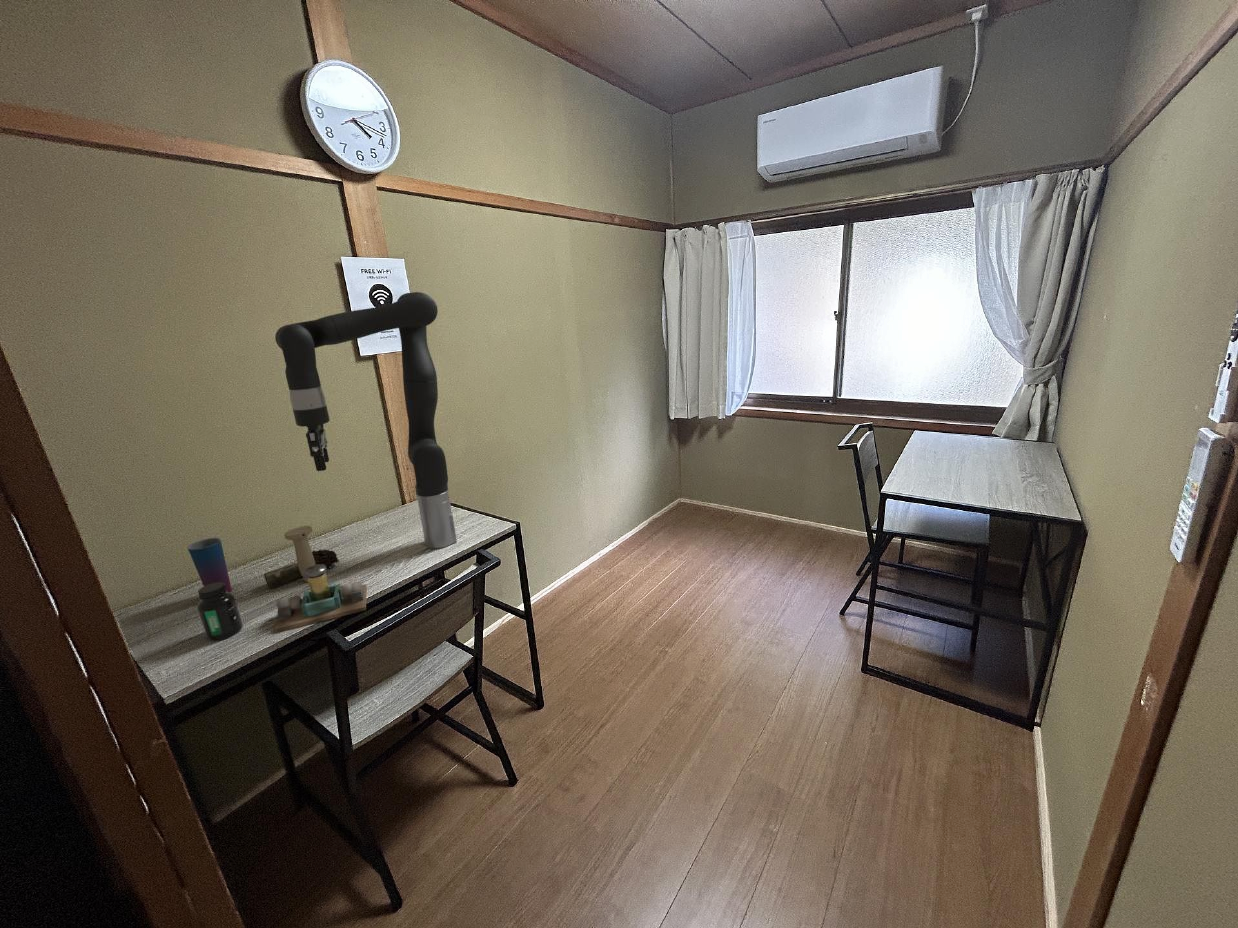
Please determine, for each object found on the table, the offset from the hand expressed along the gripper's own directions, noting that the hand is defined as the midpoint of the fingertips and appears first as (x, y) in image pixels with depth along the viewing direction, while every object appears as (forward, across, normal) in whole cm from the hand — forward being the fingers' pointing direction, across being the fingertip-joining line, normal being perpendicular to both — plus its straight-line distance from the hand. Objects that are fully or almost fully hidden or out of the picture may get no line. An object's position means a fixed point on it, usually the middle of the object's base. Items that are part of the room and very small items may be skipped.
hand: (323, 466), depth 133 cm
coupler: (+31, -17, +4) cm, 36 cm away
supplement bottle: (+32, -17, +25) cm, 44 cm away
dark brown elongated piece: (+33, +6, +12) cm, 35 cm away
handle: (+32, +2, +9) cm, 34 cm away
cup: (+32, +5, +31) cm, 45 cm away
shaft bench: (+32, -17, +4) cm, 37 cm away
